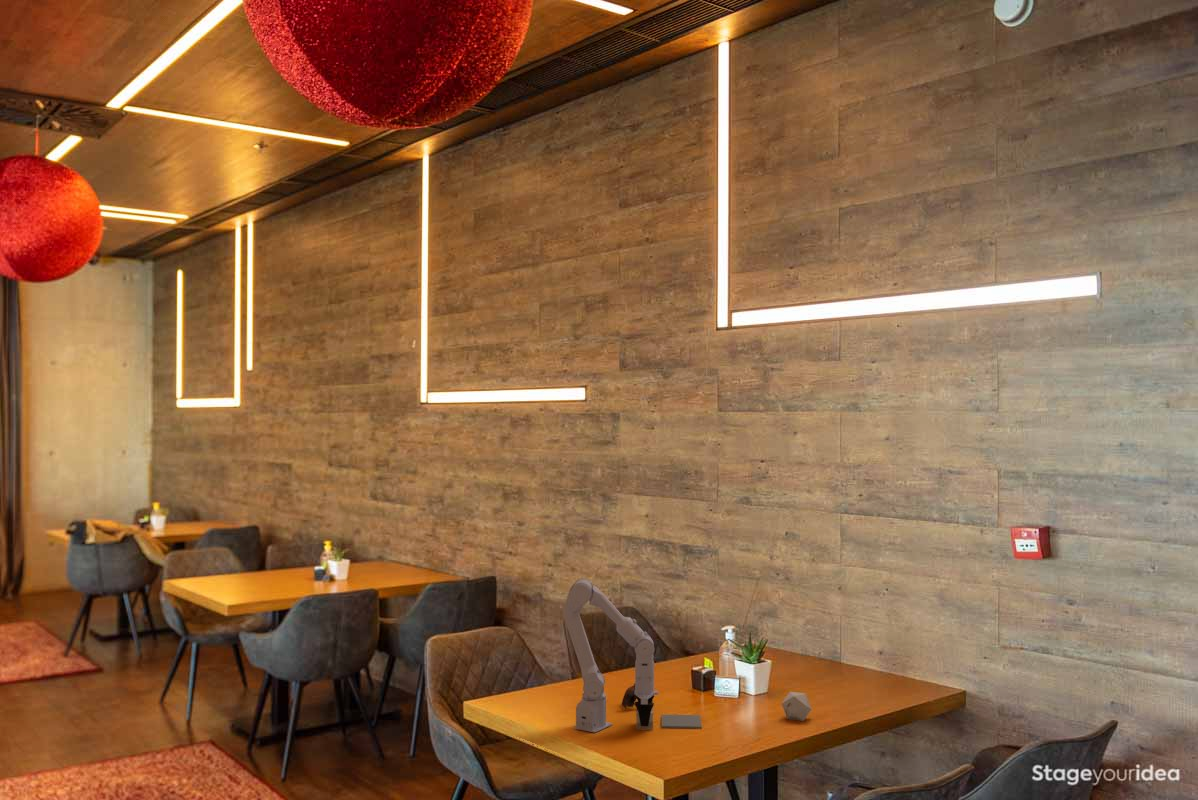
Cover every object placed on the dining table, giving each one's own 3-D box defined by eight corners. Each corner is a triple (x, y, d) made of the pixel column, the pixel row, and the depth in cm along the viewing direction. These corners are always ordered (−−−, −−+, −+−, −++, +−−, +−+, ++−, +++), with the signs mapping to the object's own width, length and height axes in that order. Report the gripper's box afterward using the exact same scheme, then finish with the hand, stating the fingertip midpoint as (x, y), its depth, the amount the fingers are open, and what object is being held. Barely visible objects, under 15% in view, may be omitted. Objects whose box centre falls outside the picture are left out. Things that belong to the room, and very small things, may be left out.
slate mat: (701, 728, 297) (701, 726, 297) (661, 728, 297) (661, 726, 297) (700, 717, 309) (700, 715, 309) (661, 716, 309) (661, 714, 309)
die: (780, 716, 311) (774, 696, 306) (800, 700, 314) (795, 680, 309) (797, 732, 305) (792, 712, 300) (818, 715, 307) (813, 695, 302)
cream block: (653, 730, 296) (652, 713, 296) (636, 729, 296) (636, 712, 296) (653, 725, 301) (653, 708, 301) (636, 724, 301) (636, 708, 301)
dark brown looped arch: (625, 702, 327) (637, 680, 328) (648, 718, 323) (660, 696, 323) (611, 702, 317) (624, 679, 317) (635, 719, 312) (648, 696, 313)
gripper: (657, 683, 292) (658, 729, 291) (657, 671, 306) (658, 715, 306) (633, 682, 292) (634, 729, 292) (635, 670, 306) (635, 715, 306)
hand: (644, 722), depth 299 cm, fingers open, 7 cm apart
